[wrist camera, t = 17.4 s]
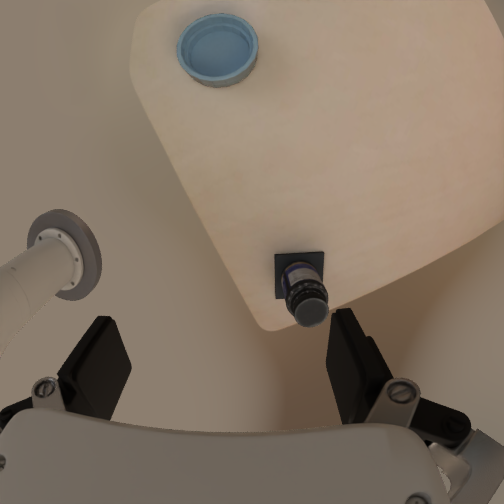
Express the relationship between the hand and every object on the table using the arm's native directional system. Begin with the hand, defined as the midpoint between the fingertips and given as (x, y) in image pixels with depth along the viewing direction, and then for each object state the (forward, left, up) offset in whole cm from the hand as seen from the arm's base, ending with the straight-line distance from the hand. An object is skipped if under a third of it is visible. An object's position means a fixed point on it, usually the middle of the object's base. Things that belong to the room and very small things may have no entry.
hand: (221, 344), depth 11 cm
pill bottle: (+8, -14, -33) cm, 37 cm away
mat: (+8, -14, -33) cm, 37 cm away
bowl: (-2, +22, -33) cm, 40 cm away
